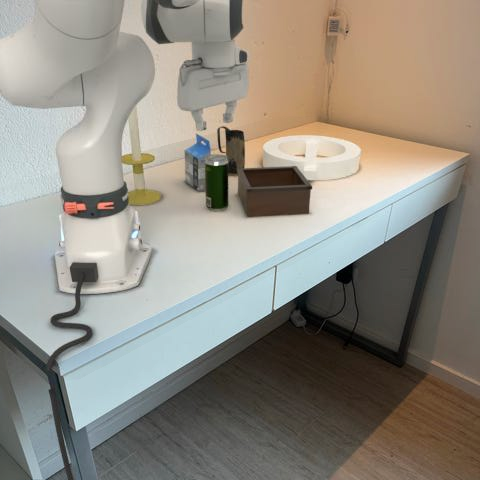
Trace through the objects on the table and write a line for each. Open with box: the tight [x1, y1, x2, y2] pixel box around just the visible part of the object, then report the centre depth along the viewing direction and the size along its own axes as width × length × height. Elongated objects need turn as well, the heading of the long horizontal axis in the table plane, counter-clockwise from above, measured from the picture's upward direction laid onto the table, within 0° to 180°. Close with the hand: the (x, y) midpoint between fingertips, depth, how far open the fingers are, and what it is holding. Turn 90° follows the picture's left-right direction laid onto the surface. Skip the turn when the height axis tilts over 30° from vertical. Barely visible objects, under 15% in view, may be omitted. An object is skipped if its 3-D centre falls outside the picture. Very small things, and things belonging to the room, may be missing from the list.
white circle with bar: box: [262, 134, 362, 181], centre depth 152 cm, size 28×28×5 cm
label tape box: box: [184, 133, 212, 192], centre depth 135 cm, size 9×4×12 cm, turn 28°
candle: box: [122, 105, 162, 206], centre depth 123 cm, size 10×10×27 cm
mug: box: [216, 126, 246, 177], centre depth 144 cm, size 8×6×12 cm
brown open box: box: [237, 166, 313, 218], centre depth 125 cm, size 15×15×7 cm
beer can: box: [205, 153, 229, 213], centre depth 122 cm, size 5×5×12 cm
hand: (214, 126), depth 115 cm, fingers open, 8 cm apart
